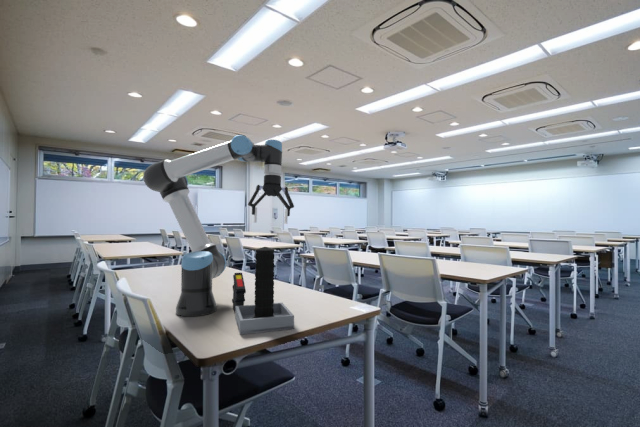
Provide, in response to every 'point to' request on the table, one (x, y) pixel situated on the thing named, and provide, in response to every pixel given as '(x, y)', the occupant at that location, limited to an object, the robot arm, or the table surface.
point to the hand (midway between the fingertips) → (270, 223)
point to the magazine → (238, 290)
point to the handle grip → (264, 283)
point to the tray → (263, 319)
